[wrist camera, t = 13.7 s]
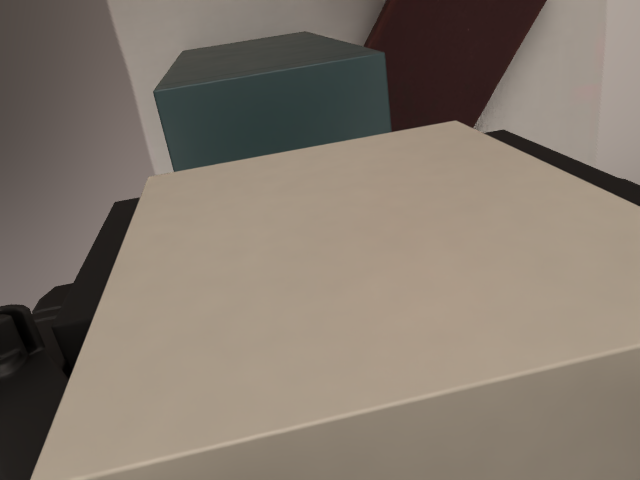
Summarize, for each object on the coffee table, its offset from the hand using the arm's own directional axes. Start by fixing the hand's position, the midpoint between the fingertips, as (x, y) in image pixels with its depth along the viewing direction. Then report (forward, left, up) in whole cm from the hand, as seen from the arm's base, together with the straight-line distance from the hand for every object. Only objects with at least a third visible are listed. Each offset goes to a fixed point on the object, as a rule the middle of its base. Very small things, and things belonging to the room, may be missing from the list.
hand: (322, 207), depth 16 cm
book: (+16, -5, -35) cm, 39 cm away
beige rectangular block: (0, 0, -2) cm, 2 cm away
